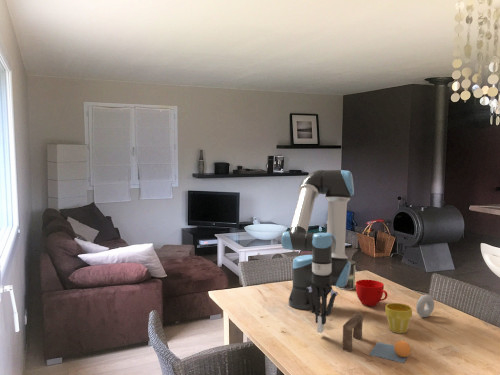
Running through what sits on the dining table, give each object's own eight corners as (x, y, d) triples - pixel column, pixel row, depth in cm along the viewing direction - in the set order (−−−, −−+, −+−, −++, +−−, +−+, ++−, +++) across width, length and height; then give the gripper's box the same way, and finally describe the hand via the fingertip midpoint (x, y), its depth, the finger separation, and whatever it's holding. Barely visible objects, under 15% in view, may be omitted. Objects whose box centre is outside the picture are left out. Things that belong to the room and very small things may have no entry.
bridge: (342, 349, 161) (343, 325, 160) (354, 335, 173) (355, 313, 173) (350, 351, 160) (351, 327, 159) (362, 337, 172) (362, 314, 171)
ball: (395, 360, 155) (390, 345, 155) (398, 354, 159) (393, 339, 160) (411, 359, 152) (406, 343, 152) (413, 352, 157) (408, 337, 157)
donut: (420, 320, 190) (421, 297, 189) (413, 317, 193) (414, 295, 192) (435, 316, 195) (436, 294, 194) (428, 313, 198) (429, 292, 197)
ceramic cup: (376, 313, 198) (377, 291, 197) (349, 302, 212) (350, 282, 211) (395, 307, 205) (396, 287, 204) (368, 297, 219) (368, 278, 218)
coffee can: (347, 291, 228) (348, 265, 227) (331, 286, 236) (332, 261, 235) (358, 287, 235) (359, 261, 234) (342, 283, 243) (343, 258, 242)
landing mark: (369, 354, 157) (369, 354, 157) (377, 342, 168) (377, 341, 168) (403, 363, 151) (403, 362, 151) (410, 349, 161) (410, 349, 161)
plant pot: (380, 325, 184) (381, 302, 183) (404, 324, 185) (405, 302, 184) (390, 335, 174) (391, 311, 173) (415, 335, 175) (416, 311, 174)
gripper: (302, 272, 171) (301, 331, 173) (334, 277, 164) (332, 338, 166) (309, 268, 178) (308, 324, 179) (340, 273, 171) (339, 331, 173)
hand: (320, 331), depth 173 cm, fingers closed
